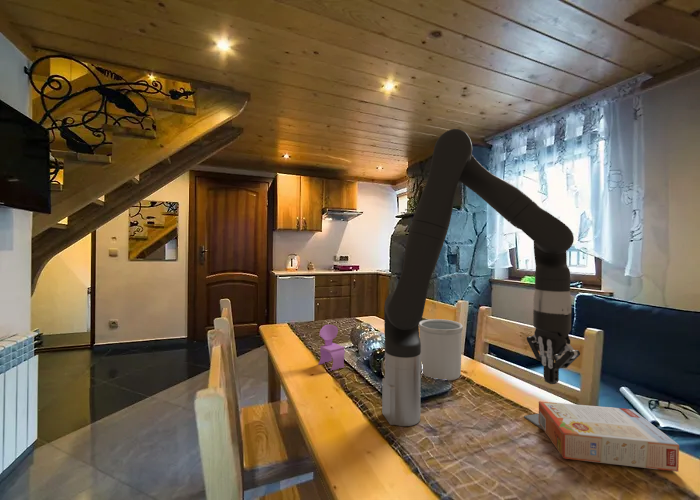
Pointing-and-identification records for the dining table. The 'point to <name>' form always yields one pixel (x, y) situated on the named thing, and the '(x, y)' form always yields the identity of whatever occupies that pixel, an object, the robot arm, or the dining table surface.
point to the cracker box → (607, 436)
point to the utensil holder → (441, 348)
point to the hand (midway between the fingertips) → (551, 382)
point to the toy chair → (331, 348)
